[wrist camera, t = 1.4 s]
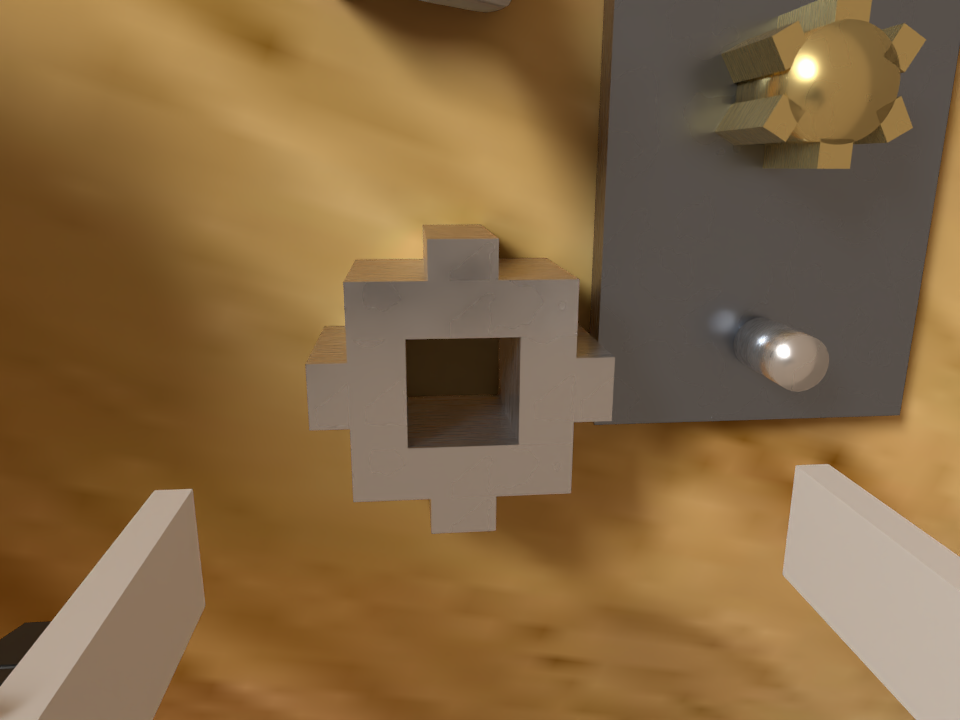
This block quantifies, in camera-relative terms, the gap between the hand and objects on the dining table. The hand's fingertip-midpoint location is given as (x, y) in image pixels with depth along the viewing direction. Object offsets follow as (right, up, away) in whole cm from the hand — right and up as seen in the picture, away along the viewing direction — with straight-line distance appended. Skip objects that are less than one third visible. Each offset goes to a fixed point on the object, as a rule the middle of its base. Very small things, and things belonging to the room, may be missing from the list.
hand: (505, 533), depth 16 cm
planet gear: (-2, +4, +16) cm, 16 cm away
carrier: (+11, +12, +15) cm, 22 cm away
